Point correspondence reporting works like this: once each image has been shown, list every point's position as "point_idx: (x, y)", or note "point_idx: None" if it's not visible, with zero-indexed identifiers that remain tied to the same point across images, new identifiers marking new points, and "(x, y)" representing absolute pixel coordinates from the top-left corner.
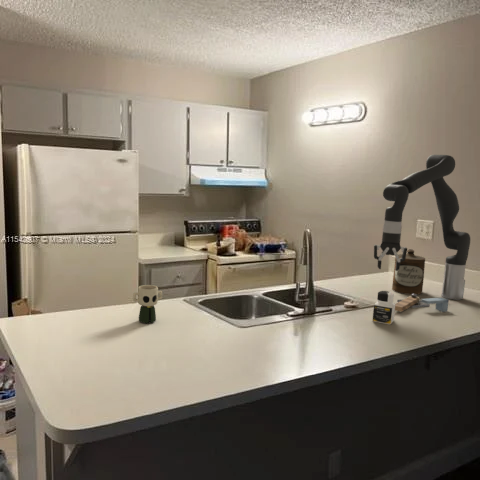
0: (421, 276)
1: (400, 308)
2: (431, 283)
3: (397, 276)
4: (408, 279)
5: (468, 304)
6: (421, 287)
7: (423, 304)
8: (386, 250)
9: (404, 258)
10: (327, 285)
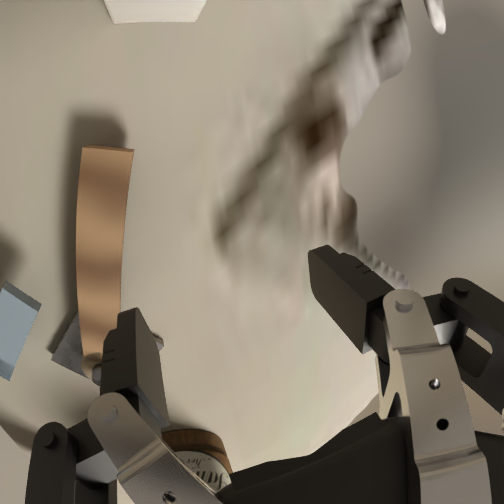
0: None
1: (92, 147)
2: None
3: (217, 471)
4: None
5: (11, 425)
6: None
7: (64, 346)
8: (449, 464)
9: (38, 463)
10: None
